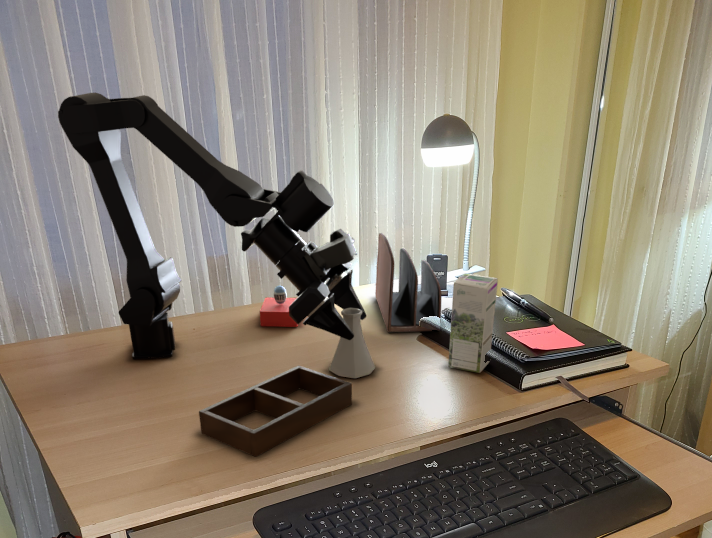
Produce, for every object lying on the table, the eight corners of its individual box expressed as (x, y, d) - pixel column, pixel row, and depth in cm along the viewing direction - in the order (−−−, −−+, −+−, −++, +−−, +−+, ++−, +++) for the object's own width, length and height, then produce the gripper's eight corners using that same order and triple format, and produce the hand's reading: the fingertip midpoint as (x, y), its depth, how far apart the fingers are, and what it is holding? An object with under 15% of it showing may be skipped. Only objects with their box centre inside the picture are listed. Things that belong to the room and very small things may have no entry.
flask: (356, 383, 122) (355, 322, 116) (321, 371, 125) (319, 312, 120) (382, 368, 127) (383, 309, 121) (348, 358, 130) (347, 300, 125)
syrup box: (490, 361, 130) (499, 276, 122) (479, 374, 125) (487, 286, 117) (458, 356, 132) (465, 271, 124) (446, 368, 127) (452, 281, 119)
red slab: (297, 326, 142) (295, 293, 139) (260, 326, 143) (258, 292, 139) (301, 312, 149) (300, 279, 146) (266, 311, 149) (264, 279, 146)
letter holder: (387, 333, 140) (389, 255, 133) (375, 298, 157) (376, 227, 149) (440, 331, 141) (445, 254, 134) (423, 297, 158) (426, 226, 150)
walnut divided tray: (201, 433, 107) (198, 411, 105) (299, 385, 121) (298, 365, 119) (255, 457, 102) (253, 433, 100) (352, 404, 115) (352, 383, 113)
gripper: (307, 231, 106) (383, 315, 110) (338, 202, 121) (405, 277, 126) (256, 283, 111) (331, 362, 116) (292, 250, 127) (357, 320, 131)
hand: (358, 327), depth 122 cm, fingers open, 9 cm apart
